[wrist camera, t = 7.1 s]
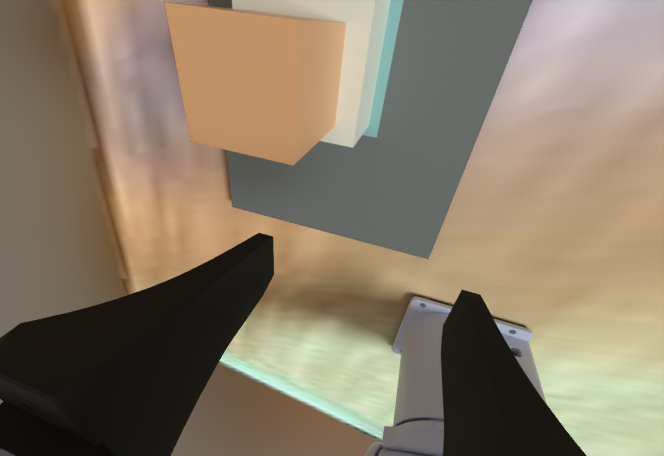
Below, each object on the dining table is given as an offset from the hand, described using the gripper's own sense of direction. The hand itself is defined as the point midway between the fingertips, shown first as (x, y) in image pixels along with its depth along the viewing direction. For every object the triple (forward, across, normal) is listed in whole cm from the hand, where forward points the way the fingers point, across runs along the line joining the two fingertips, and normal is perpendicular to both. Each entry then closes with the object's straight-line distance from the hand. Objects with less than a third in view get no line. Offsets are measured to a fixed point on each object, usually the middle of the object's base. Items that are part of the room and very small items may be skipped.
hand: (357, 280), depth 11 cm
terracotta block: (+6, +5, -6) cm, 9 cm away
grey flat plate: (+10, +4, -2) cm, 11 cm away
